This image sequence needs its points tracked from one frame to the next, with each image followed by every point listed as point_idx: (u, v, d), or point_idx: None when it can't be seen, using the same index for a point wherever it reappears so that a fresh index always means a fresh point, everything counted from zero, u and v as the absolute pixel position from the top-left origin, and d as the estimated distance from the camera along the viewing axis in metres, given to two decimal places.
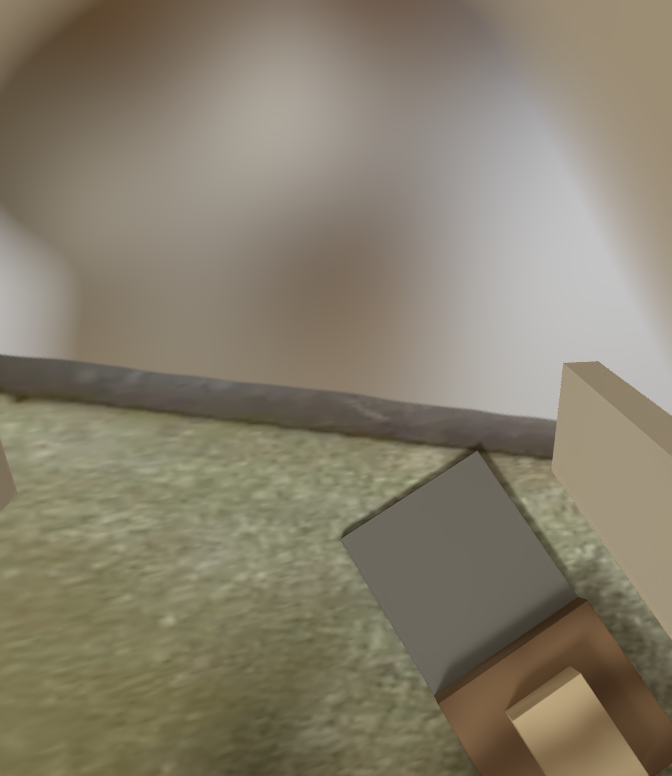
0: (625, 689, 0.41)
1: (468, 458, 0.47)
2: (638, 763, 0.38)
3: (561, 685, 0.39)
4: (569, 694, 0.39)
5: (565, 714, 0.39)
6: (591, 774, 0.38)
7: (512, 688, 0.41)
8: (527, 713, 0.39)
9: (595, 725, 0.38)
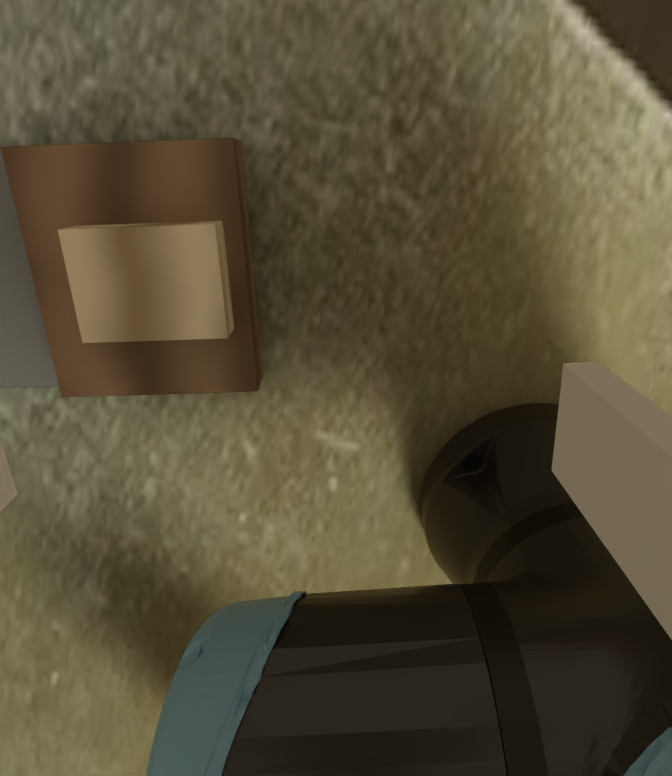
0: (130, 173, 0.28)
1: None
2: (188, 227, 0.27)
3: None
4: (77, 260, 0.28)
5: (98, 279, 0.28)
6: (175, 291, 0.29)
7: None
8: (80, 321, 0.29)
9: (125, 251, 0.28)
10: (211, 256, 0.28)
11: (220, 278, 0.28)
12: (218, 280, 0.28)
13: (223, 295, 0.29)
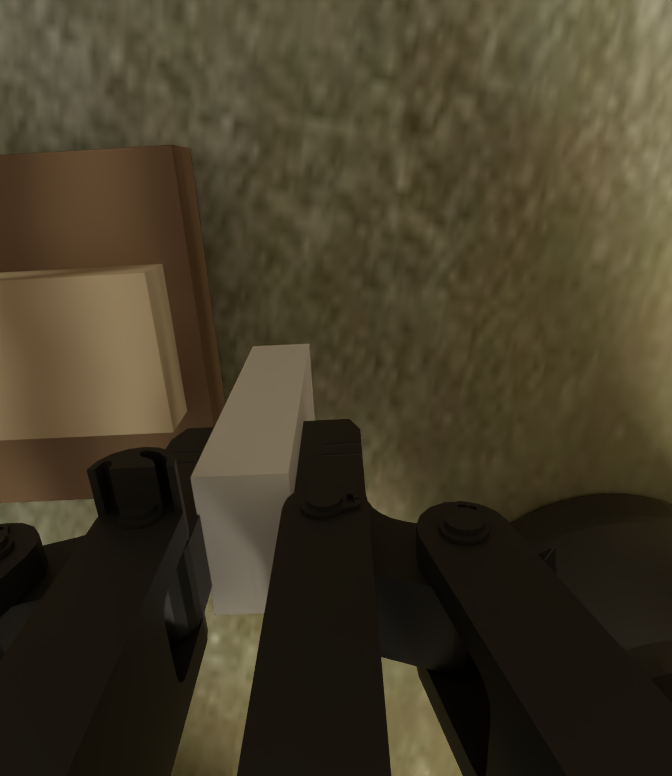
0: (24, 200, 0.19)
1: None
2: (105, 279, 0.18)
3: None
4: None
5: None
6: (93, 369, 0.20)
7: None
8: None
9: (15, 314, 0.19)
10: (142, 319, 0.19)
11: (157, 350, 0.19)
12: (155, 353, 0.19)
13: (164, 373, 0.20)
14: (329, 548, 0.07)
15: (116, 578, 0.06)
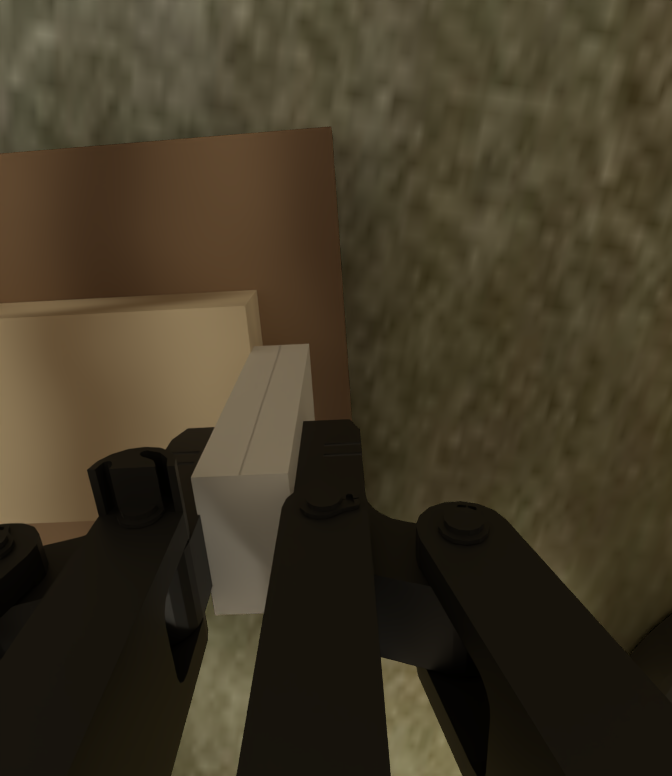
0: (126, 206, 0.14)
1: None
2: (191, 314, 0.13)
3: None
4: None
5: (15, 413, 0.14)
6: (167, 432, 0.15)
7: None
8: None
9: (64, 361, 0.14)
10: (237, 368, 0.14)
11: None
12: None
13: None
14: (328, 548, 0.07)
15: (117, 578, 0.06)
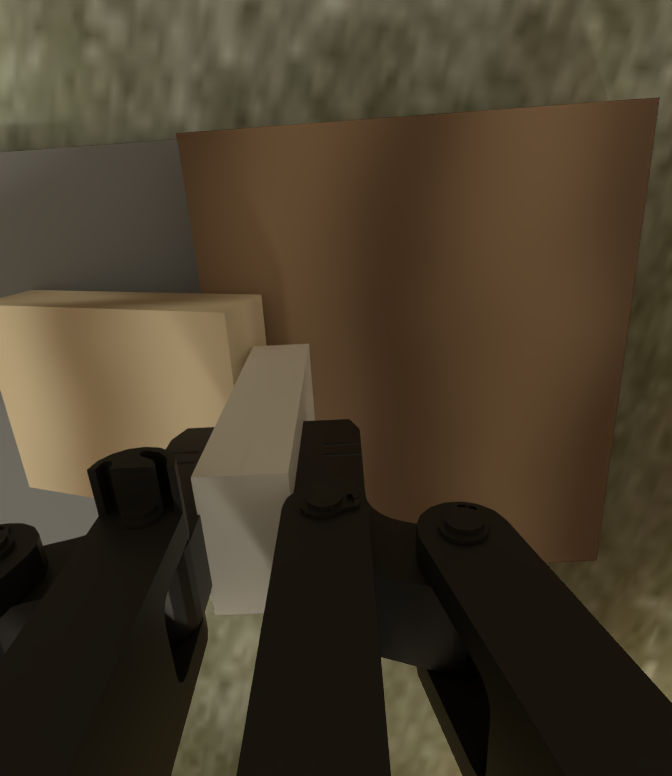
0: (432, 179, 0.14)
1: None
2: (176, 316, 0.13)
3: None
4: (8, 358, 0.16)
5: (40, 392, 0.16)
6: (159, 429, 0.15)
7: None
8: (23, 454, 0.17)
9: (75, 350, 0.15)
10: (219, 375, 0.14)
11: None
12: None
13: None
14: (329, 548, 0.07)
15: (116, 578, 0.06)
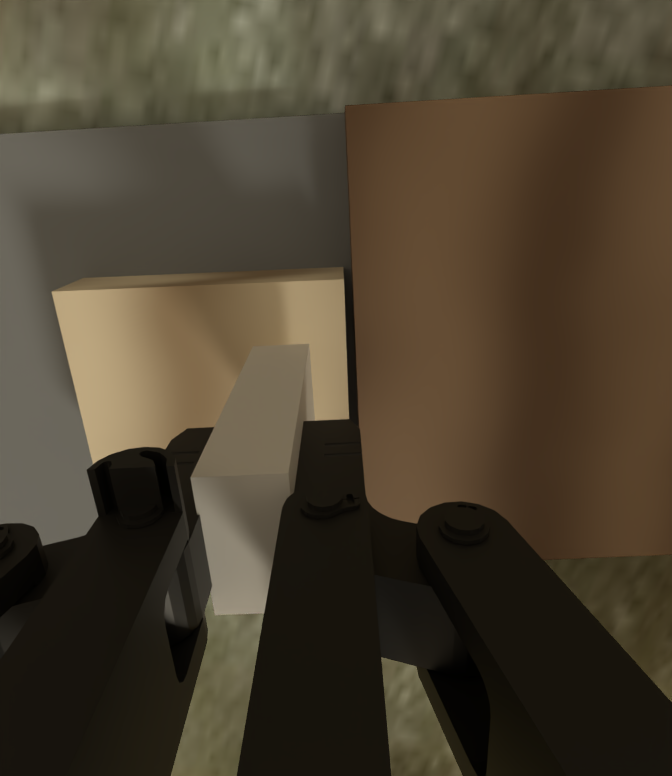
0: (604, 157, 0.14)
1: None
2: (294, 286, 0.15)
3: None
4: (89, 345, 0.15)
5: (126, 376, 0.16)
6: None
7: (426, 420, 0.16)
8: (93, 446, 0.17)
9: (175, 328, 0.15)
10: (332, 337, 0.15)
11: (346, 373, 0.16)
12: (342, 377, 0.16)
13: None
14: (329, 548, 0.07)
15: (116, 578, 0.06)
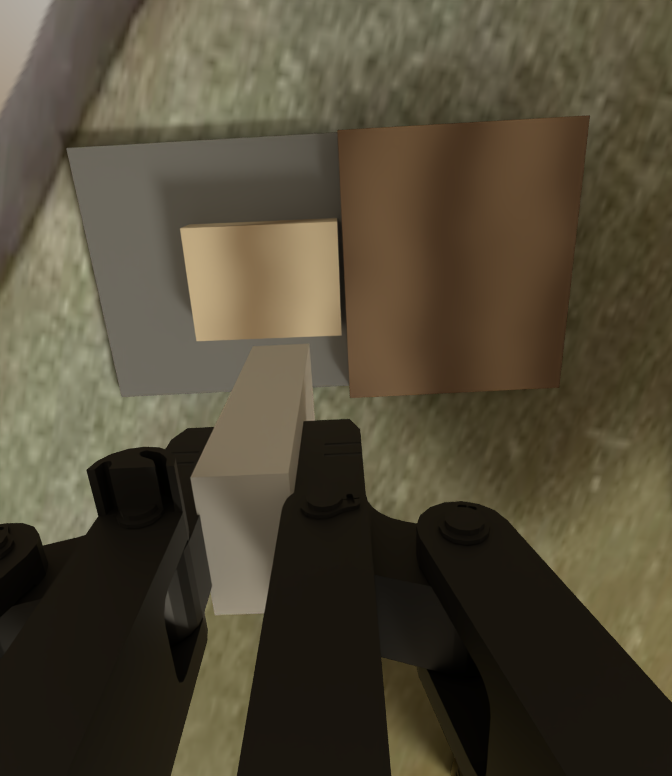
0: (471, 156, 0.26)
1: (73, 169, 0.28)
2: (310, 225, 0.28)
3: (185, 260, 0.28)
4: (197, 258, 0.28)
5: (217, 277, 0.28)
6: (292, 288, 0.29)
7: (383, 304, 0.29)
8: (196, 320, 0.29)
9: (245, 249, 0.28)
10: (331, 254, 0.28)
11: (338, 275, 0.29)
12: (336, 277, 0.29)
13: (339, 292, 0.29)
14: (329, 548, 0.07)
15: (116, 578, 0.06)
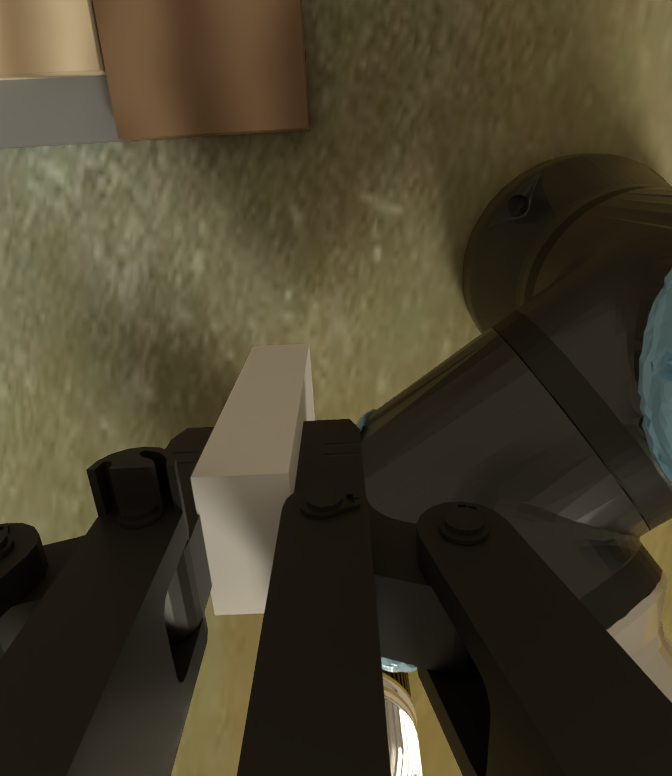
0: None
1: None
2: None
3: None
4: None
5: None
6: (48, 19, 0.32)
7: (133, 36, 0.32)
8: None
9: None
10: None
11: (87, 5, 0.31)
12: (85, 7, 0.31)
13: (92, 24, 0.32)
14: (329, 548, 0.07)
15: (116, 578, 0.06)
